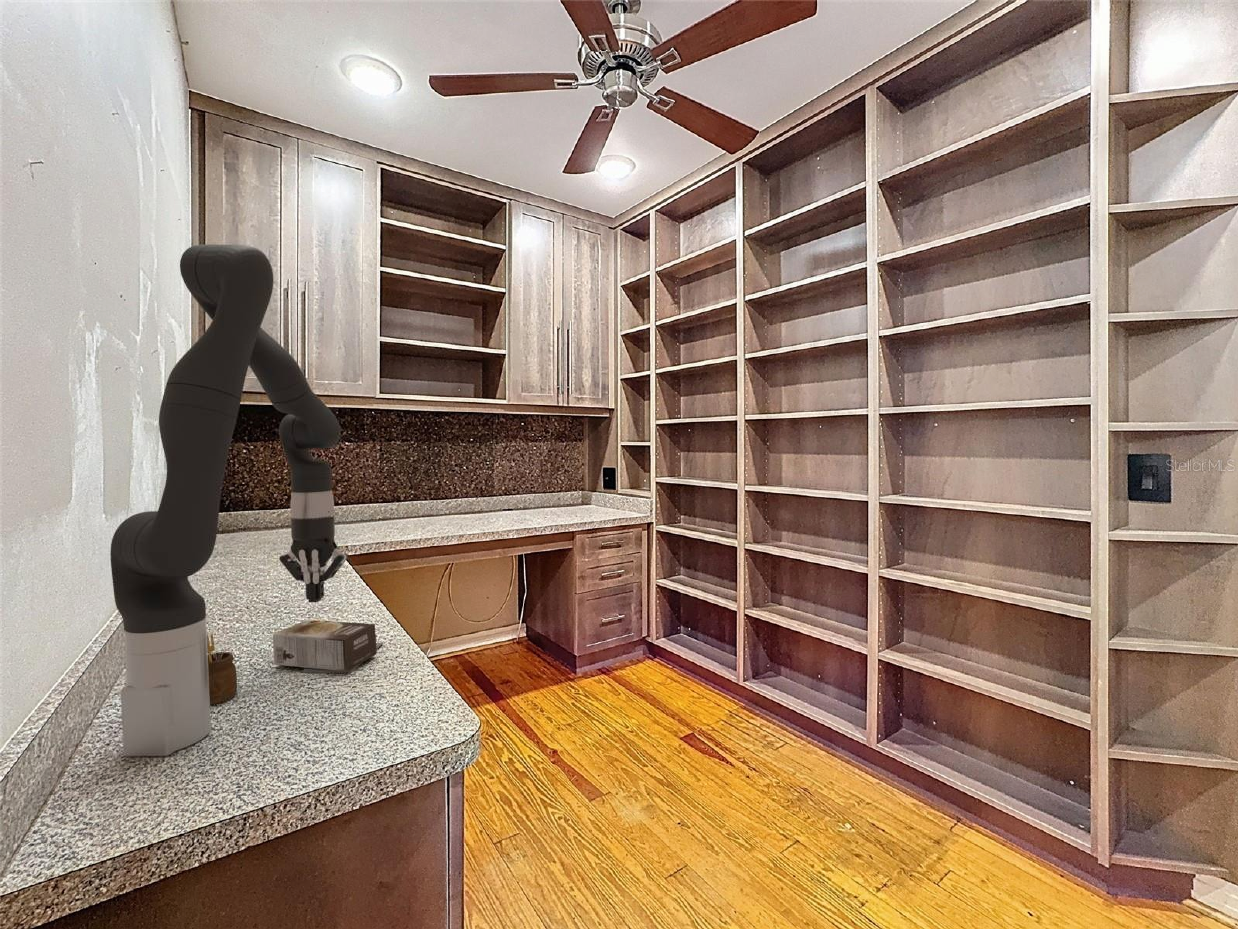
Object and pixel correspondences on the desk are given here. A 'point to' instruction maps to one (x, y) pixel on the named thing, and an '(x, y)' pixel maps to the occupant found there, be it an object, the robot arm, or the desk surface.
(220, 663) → the utensil holder
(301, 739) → the desk surface
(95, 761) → the desk surface
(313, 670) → the grey flat board
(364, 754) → the desk surface
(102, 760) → the desk surface
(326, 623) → the coffee box
